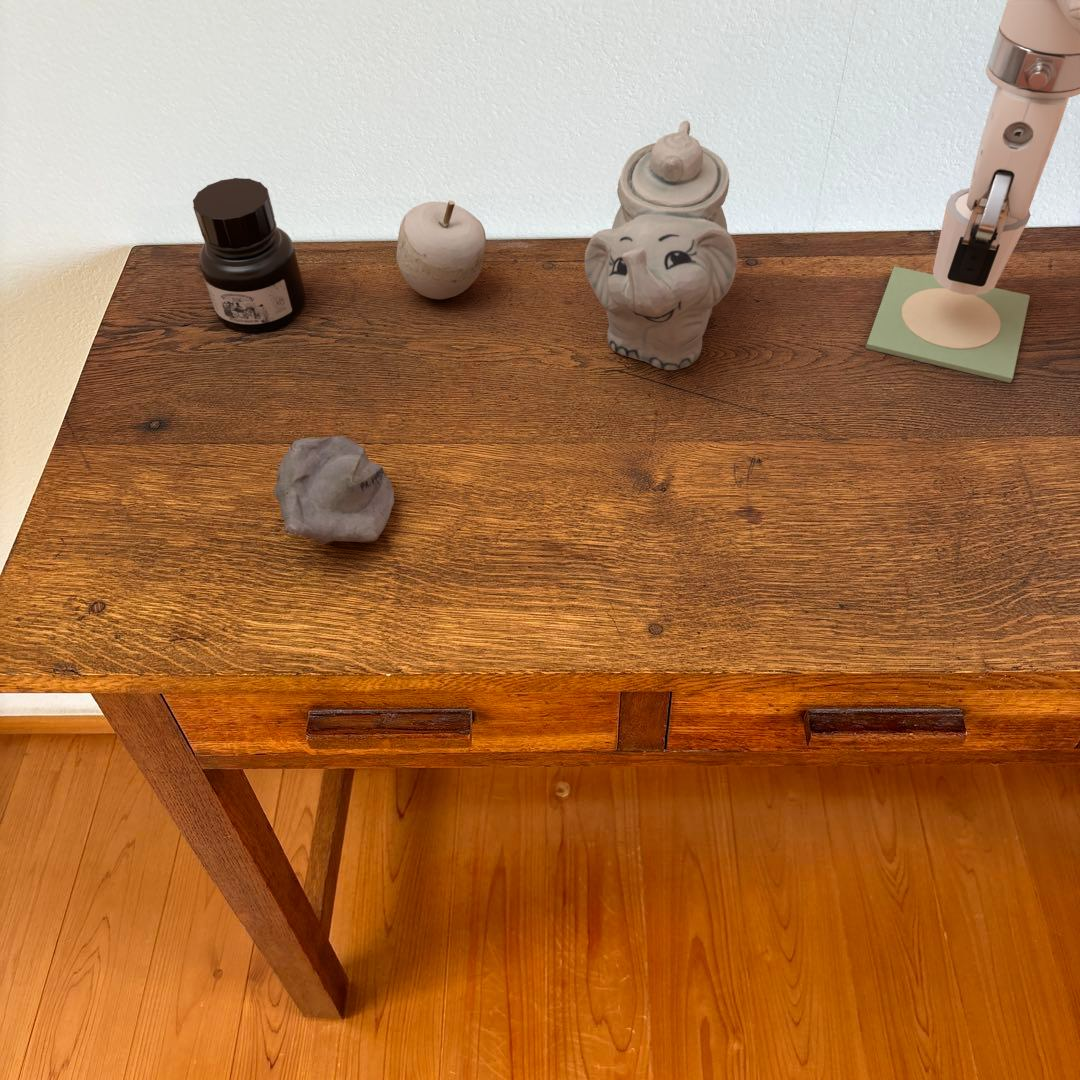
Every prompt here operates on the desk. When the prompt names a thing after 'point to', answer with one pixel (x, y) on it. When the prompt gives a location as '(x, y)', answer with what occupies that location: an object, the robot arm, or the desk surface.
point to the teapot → (664, 252)
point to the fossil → (332, 491)
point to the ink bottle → (247, 257)
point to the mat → (949, 325)
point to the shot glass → (956, 228)
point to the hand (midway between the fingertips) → (972, 256)
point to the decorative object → (440, 249)
